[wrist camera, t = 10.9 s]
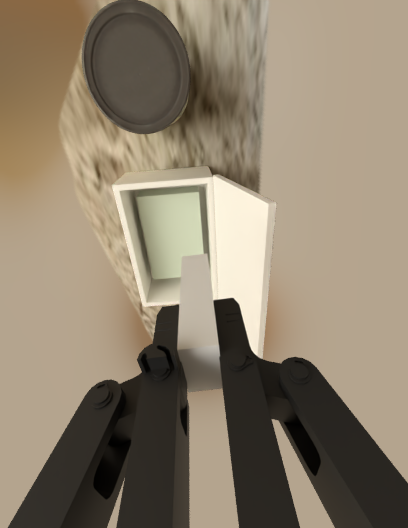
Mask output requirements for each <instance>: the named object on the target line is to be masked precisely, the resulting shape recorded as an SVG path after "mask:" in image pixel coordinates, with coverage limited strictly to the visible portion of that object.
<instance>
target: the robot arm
mask: <svg viewBox="0 0 408 528" xmlns="http://www.w3.org/2000/svg"><path fill="white" fill-rule="evenodd" d="M137 361H138V363H139V366H140V368H141V371H142V373H141V374H139V375H138V376H136V377H134V378H133V379H130V380H128V381H126V382H123V383H121V384H118V382H116V381H114V380H104V381H102V382H99V383H98V384H96V385H95V386H94V387H92V388H91V389H90V390H89V391H88V393H87V394H86V395H85V397H84V399H83V401H82V402H81V404H80V406H79V407H78V409H77V411H76V412H75V414H74V416H73V418H72V419H71V421H70V423H69V424H68V426H67V428H66V429H65V431H64V433H63V434H62V436H61V438H60V440H59V441H58V443H57V445H56V446H55V448H54V450H53V452H52V453H51V455H50V457H49V458H48V460H47V462H46V463H45V465H44V467H43V469H42V470H41V472H40V474H39V475H38V477H37V479H36V481H35V482H34V484H33V486H32V487H31V489H30V491H29V492H28V494H27V496H26V497H25V500H24V501H23V503H22V504H21V506H20V508H19V509H18V511H17V513H16V515H15V516H14V518H13V520H12V521H11V523H10V525H9V527H8V528H107V526H108V523H109V520H110V517H111V515H112V512H113V509H114V506H115V503H116V500H117V497H118V495H119V492H120V489H121V486H122V484H123V481H124V478H125V481H124V487H123V492H122V498H121V504H120V510H119V516H118V521H117V527H116V528H189V405H188V400H187V388H188V392H195V391H203V390H213V389H221V388H223V395H224V403H225V412H226V419H227V428H228V437H229V446H230V454H231V463H232V471H233V479H234V487H235V496H236V505H237V513H238V521H239V528H300V526H299V522H298V518H297V515H296V511H295V507H294V504H293V499H292V495H291V492H290V488H289V484H288V480H287V476H286V473H285V469H284V465H283V461H282V457H281V454H280V450H279V446H278V442H277V438H276V435H275V431H274V427H273V424H272V420H271V419H275V420H279V422H280V424H281V426H282V428H283V430H284V431H285V433H286V435H287V437H288V439H289V441H290V443H291V445H292V446H293V449H294V450H295V452H296V454H297V456H298V458H299V460H300V462H301V464H302V466H303V468H304V469H305V471H306V473H307V475H308V477H309V479H310V481H311V483H312V485H313V486H314V489H315V490H316V492H317V494H318V496H319V498H320V500H321V502H322V504H323V506H324V508H325V510H326V511H327V513H328V515H329V517H330V519H331V521H332V523H333V525H334V527H335V528H408V483H407V482H406V481H405V479H404V478H403V477H402V475H401V474H400V473H399V472H398V470H397V469H396V468H395V467H394V465H393V464H392V463H391V461H390V460H389V459H388V458H387V457H386V455H385V454H384V453H383V451H382V450H381V449H380V448H379V446H378V445H377V444H376V442H375V441H374V440H373V439H372V438H371V436H370V435H369V434H368V432H367V431H366V430H365V429H364V427H363V426H362V425H361V423H360V422H359V421H358V420H357V418H355V416H354V415H353V413H352V412H351V411H350V410H349V408H348V407H347V406H346V404H345V403H344V402H343V401H342V399H341V398H340V397H339V396H338V394H337V393H336V392H335V391H334V389H333V388H332V387H331V386H330V385H329V383H328V382H327V380H326V379H325V378H324V377H323V375H322V374H321V373H320V372H319V370H318V369H317V368H316V367H315V366H314V365H313V364H312V363H311V362H309V361H307V360H305V359H303V358H298V357H292V358H288V359H286V360H284V361H283V362H282V363H281V364H280V363H275V362H269V361H266V360H263V359H261V358H259V357H258V356H257V355H255V354H254V352H253V351H252V350H251V347H250V344H249V340H248V336H247V333H246V329H245V325H244V321H243V317H242V314H241V309H240V305H239V303H238V302H237V301H236V300H235V299H234V298H226V299H218V300H213V295H212V287H211V279H210V271H209V263H208V256H207V253H206V254H198V255H191V256H183V257H182V263H181V283H180V303H179V305H175V306H166V307H162V308H161V310H160V311H159V313H158V314H157V319H156V326H155V332H154V339H153V344H151V345H149V346H147V347H146V348H144V349H143V350H142V352H141V353H140V354H139V356H138V359H137Z"/></svg>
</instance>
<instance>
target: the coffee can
mask: <svg viewBox="0 0 408 528" xmlns="http://www.w3.org/2000/svg"><path fill="white" fill-rule="evenodd" d="M82 68H83V74H84V78H85V82H86V85H87V88H88V90H89V93H90V95H91V97H92V99H93V100H94V102H95V104H96V105H97V107H98V108H99V109H100V111H101V112H102V113H103V114H104V115H105V116H106V117H107V118H108V119H109V120H110V121H111V122H112V123H114V124H115V125H117V126H118V127H120V128H122V129H124V130H126V131H129V132H132V133H137V134H151V133H155V132H158V131H161V130H163V129H165V128H167V127H168V126H170V125H172V124H173V123H175V122H176V121H177V120H178V119H179V118H180V117H181V115H182V114H183V112H184V110H185V108H186V105H187V102H188V97H189V90H190V64H189V58H188V54H187V51H186V48H185V45H184V43H183V40H182V38H181V37H180V35H179V33H178V31H177V30H176V28H175V27H174V25H173V24H172V23H171V21H170V20H169V19H168V18H167V17H166V16H165V15H164V14H163V13H162V12H160V11H159V10H158V9H156V8H155V7H153V6H151V5H149V4H147V3H145V2H142V1H138V0H118V1H115V2H112V3H110V4H108V5H106V6H105V7H103V8H102V9H101V10H100V11H99V12H98V13H97V14H96V15H95V16H94V18H93V19H92V20H91V22H90V24H89V26H88V28H87V31H86V33H85V37H84V40H83V46H82Z"/></svg>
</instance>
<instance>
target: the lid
mask: <svg viewBox="0 0 408 528" xmlns="http://www.w3.org/2000/svg"><path fill="white" fill-rule="evenodd" d="M213 185H214V207H215V230H216V252H217V275H218V298H219V299H226V298H234V299H235V300H236V301H237V302H238V303H239V305H240V309H241V314H242V317H243V321H244V325H245V329H246V333H247V336H248V340H249V344H250V347H251V350H252V351H253V352H254V354H255V355H257V356H258V357H259V358H261V359H262V358H263V346H264V345H263V344H264V334H265V324H266V313H267V302H268V291H269V279H270V268H271V257H272V247H273V236H274V225H275V214H276V202H274V201H272V200H270V199H268V198H266V197H264V196H262V195H260V194H258V193H256V192H254V191H252V190H250V189H248V188H246V187H243V186H241V185H239V184H237V183H235V182H233V181H231V180H229V179H227V178H225V177H223V176H221V175H219V174H218V175H213Z"/></svg>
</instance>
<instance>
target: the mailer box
mask: <svg viewBox="0 0 408 528" xmlns="http://www.w3.org/2000/svg"><path fill="white" fill-rule="evenodd" d="M112 188H113V192H114V196H115V199H116V203H117V207H118V211H119V215H120V219H121V223H122V227H123V231H124V235H125V238H126V242H127V246H128V250H129V254H130V258H131V262H132V266H133V270H134V273H135V277H136V281H137V285H138V289H139V293H140V297H141V301H142V305H143V307H146V306H157V305H168V304H179V303H180V283H181V263H182V257H183V256H191V255H198V254H206V253H207V256H208V263H209V271H210V279H211V287H212V295H213V300H218V278H217V256H216V233H215V211H214V189H213V176H212V174H211V172H210V169H209V167H208V166H201V167H188V168H176V169H164V170H151V171H139V172H127V173H125V174H124V175H122V176H121V177H120V178H119V179H118V180H117V181H116V182H115V183H114V184H113V185H112Z"/></svg>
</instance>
